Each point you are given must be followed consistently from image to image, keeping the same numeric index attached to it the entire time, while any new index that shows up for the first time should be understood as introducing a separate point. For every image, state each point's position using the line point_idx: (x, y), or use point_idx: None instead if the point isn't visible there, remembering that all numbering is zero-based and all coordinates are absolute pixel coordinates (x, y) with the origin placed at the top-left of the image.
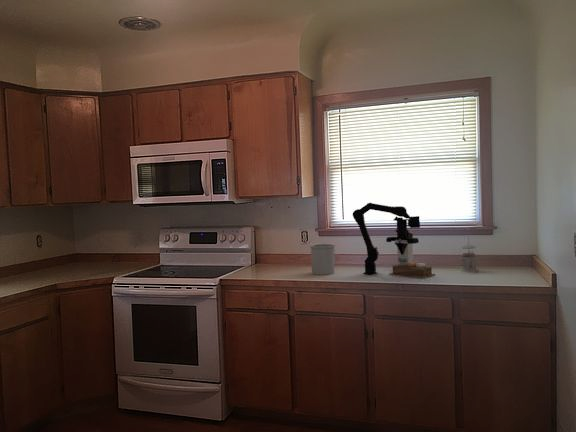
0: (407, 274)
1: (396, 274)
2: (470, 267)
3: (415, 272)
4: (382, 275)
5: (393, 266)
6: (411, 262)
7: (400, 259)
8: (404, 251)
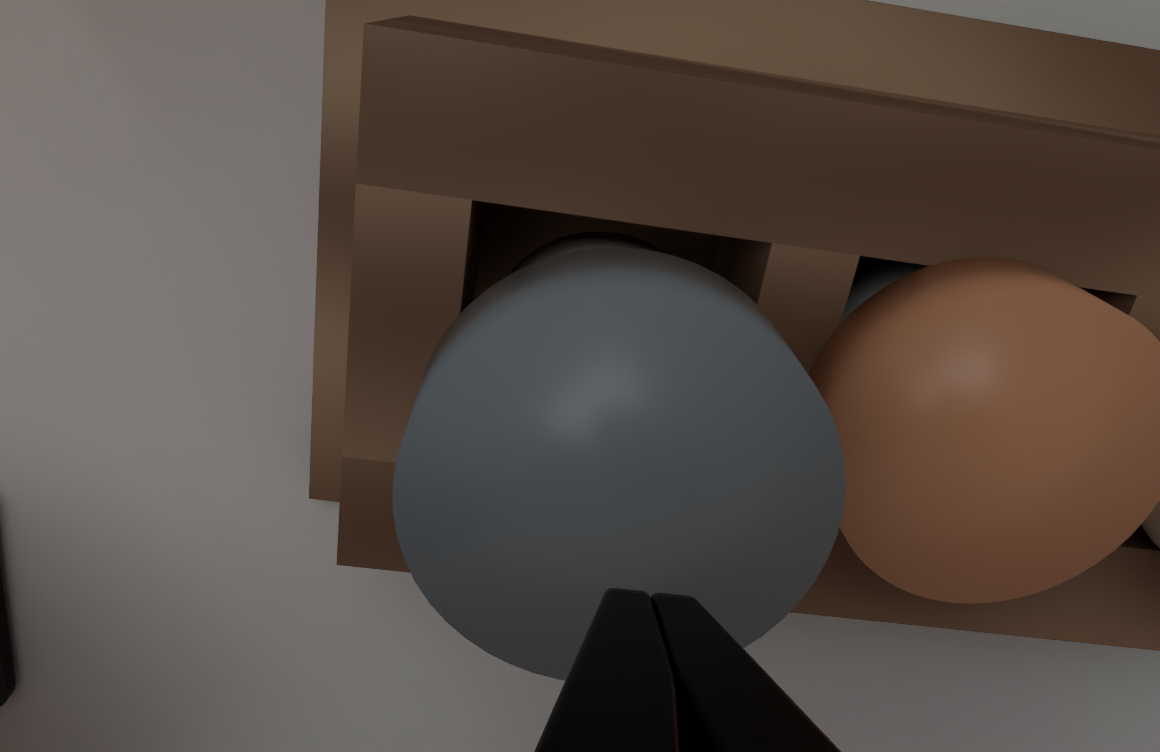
0: None
1: None
2: None
3: None
4: (258, 641)
5: (374, 557)
6: (963, 321)
7: None
8: (807, 725)
